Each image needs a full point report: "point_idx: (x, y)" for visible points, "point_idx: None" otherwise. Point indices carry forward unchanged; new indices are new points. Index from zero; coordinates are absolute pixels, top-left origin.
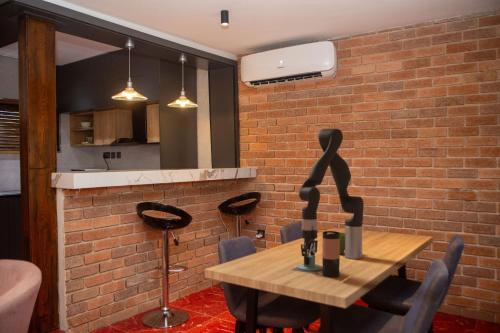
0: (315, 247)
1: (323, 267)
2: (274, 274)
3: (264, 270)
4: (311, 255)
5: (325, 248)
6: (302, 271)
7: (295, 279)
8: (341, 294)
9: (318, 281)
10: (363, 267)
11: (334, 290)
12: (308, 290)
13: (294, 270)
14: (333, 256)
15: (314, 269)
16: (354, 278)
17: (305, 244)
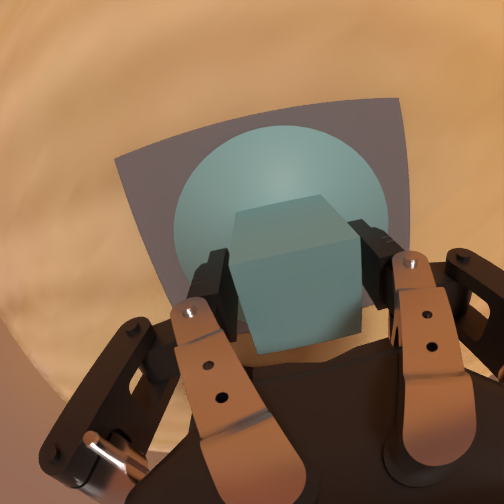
0: (476, 346)
1: (191, 423)
2: (9, 163)
3: (24, 48)
4: (346, 303)
5: None
6: (158, 257)
7: (55, 308)
8: None
9: (132, 385)
10: (464, 360)
11: None
12: (56, 390)
13: (126, 194)
14: None
15: (239, 318)
16: None
17: (121, 501)
